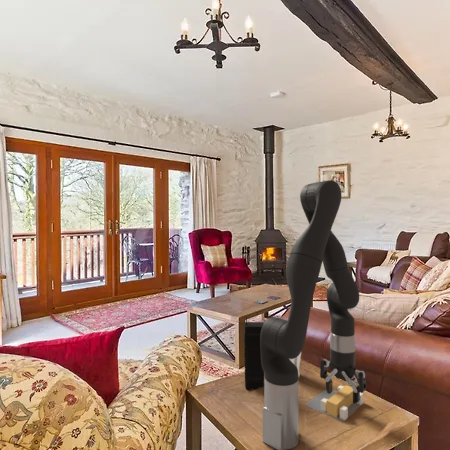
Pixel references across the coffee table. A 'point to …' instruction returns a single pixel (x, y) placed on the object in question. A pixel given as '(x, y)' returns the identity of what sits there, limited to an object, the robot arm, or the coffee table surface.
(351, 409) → the board
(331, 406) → the bar
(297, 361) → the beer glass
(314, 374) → the coffee table surface
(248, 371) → the portable radio
